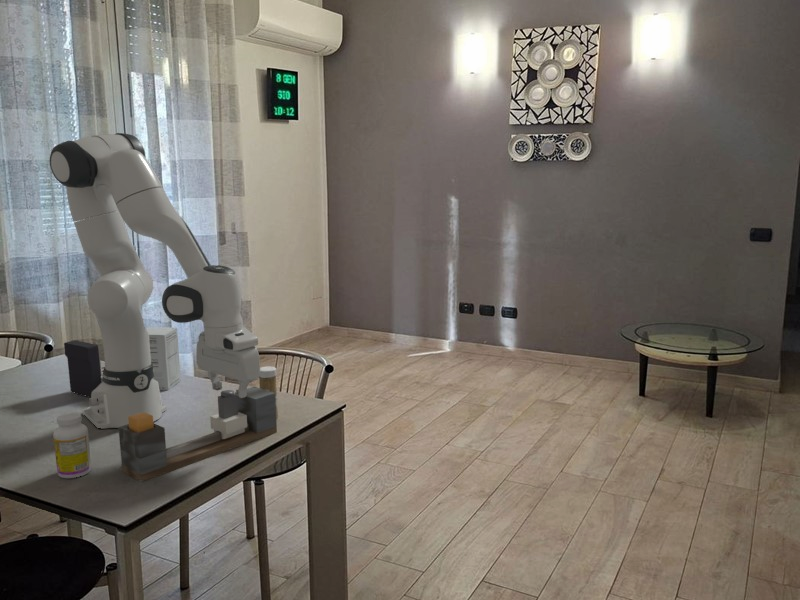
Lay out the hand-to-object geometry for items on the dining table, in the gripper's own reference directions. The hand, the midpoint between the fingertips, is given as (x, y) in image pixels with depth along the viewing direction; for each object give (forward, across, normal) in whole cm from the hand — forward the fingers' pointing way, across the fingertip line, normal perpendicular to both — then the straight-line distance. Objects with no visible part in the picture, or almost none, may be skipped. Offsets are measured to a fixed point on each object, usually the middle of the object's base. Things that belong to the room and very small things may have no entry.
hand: (229, 393), depth 166 cm
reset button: (+4, -1, -22) cm, 23 cm away
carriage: (+10, -1, 0) cm, 10 cm away
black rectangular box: (+11, -62, -6) cm, 63 cm away
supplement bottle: (+11, -12, -32) cm, 36 cm away
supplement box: (+11, -53, +12) cm, 55 cm away
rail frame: (+12, -1, -7) cm, 14 cm away
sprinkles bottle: (+12, -6, +16) cm, 21 cm away
